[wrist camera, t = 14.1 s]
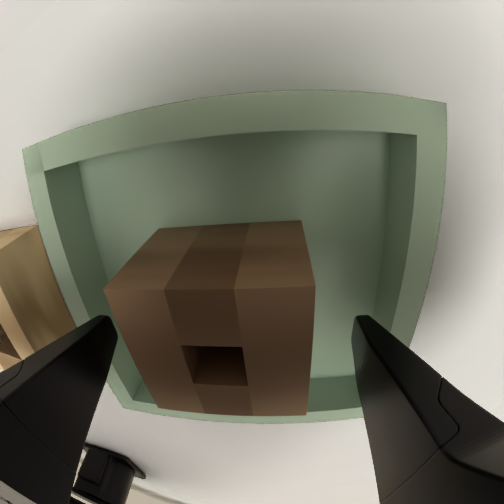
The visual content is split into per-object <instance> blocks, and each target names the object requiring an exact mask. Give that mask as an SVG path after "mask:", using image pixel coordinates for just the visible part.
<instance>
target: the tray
mask: <svg viewBox="0 0 504 504" xmlns="http://www.w3.org/2000/svg"><path fill="white" fill-rule="evenodd" d="M446 151H447V109H446V103H442V102H437V101H431V100H425V99H419V98H413V97H406V96H399V95H390V94H381V93H370V92H356V91H336V90H285V91H265V92H251V93H239V94H230V95H221V96H213V97H206V98H199V99H193V100H187V101H181V102H175V103H170V104H165V105H160V106H155V107H151V108H146V109H142V110H138V111H134V112H130V113H126V114H122V115H118V116H114V117H111V118H107V119H104V120H101V121H97V122H94V123H91V124H88V125H85V126H82V127H79V128H76V129H73V130H70V131H67V132H64V133H62V134H59V135H56V136H54V137H51V138H48V139H46V140H43V141H41V142H39V143H36V144H34V145H31V146H29V147H27V148H25V149H22V152H23V159H24V165H25V170H26V176H27V181H28V186H29V190H30V195H31V199H32V203H33V207H34V211H35V215H36V219H37V223H38V226H39V230H40V233H41V236H42V240H43V243H44V246H45V249H46V252H47V255H48V258H49V261H50V264H51V266H52V269H53V272H54V275H55V277H56V280H57V282H58V285H59V287H60V290H61V292H62V295H63V297H64V300H65V302H66V304H67V306H68V309H69V311H70V313H71V315H72V318H73V320H74V322H75V324H76V326H77V327H79V326H80V325H82V324H84V323H86V322H87V321H89V320H91V319H93V318H94V317H96V316H98V315H108V316H110V318H111V319H112V322H113V324H114V326H115V329H116V331H117V334H118V341H117V345H116V348H115V352H114V355H113V359H112V362H111V366H110V370H109V373H108V376H107V379H106V381H107V383H108V385H109V386H110V388H111V389H112V391H113V393H114V394H115V396H116V397H117V399H118V400H119V402H120V403H121V405H122V406H123V408H126V409H131V410H136V411H141V412H146V413H152V414H158V415H164V416H171V417H178V418H186V419H195V420H204V421H216V422H231V423H258V424H283V423H310V422H324V421H336V420H346V419H354V418H362V417H364V415H363V411H362V406H361V402H360V398H359V394H358V389H357V384H356V376H355V368H354V360H353V352H352V345H351V335H352V329H353V323H354V318H355V317H356V316H357V315H369V316H371V317H372V318H373V319H374V320H375V321H377V322H378V323H379V324H380V325H382V326H383V327H384V328H385V329H386V330H388V331H389V332H390V333H391V334H392V335H394V336H395V337H396V338H397V339H399V340H400V341H401V342H402V343H403V344H405V345H406V346H407V347H408V348H409V346H410V343H411V340H412V337H413V334H414V331H415V328H416V325H417V322H418V318H419V315H420V311H421V308H422V304H423V301H424V297H425V293H426V289H427V285H428V281H429V277H430V273H431V268H432V264H433V259H434V254H435V249H436V243H437V238H438V232H439V225H440V219H441V211H442V203H443V194H444V184H445V171H446ZM296 220H301V221H302V225H303V230H304V234H305V239H306V243H307V248H308V252H309V257H310V261H311V266H312V271H313V276H314V280H315V285H316V290H315V313H314V332H313V347H312V361H311V373H310V384H309V395H308V405H307V414H306V415H302V416H232V415H216V414H203V413H193V412H183V411H175V410H168V409H161V408H158V407H157V405H156V403H155V401H154V399H153V398H152V396H151V394H150V392H149V390H148V388H147V387H146V385H145V383H144V381H143V379H142V377H141V375H140V373H139V371H138V369H137V367H136V365H135V363H134V361H133V359H132V357H131V355H130V352H129V350H128V348H127V346H126V344H125V341H124V339H123V337H122V335H121V332H120V330H119V328H118V325H117V323H116V321H115V318H114V316H113V313H112V311H111V308H110V306H109V303H108V300H107V298H106V295H105V292H104V290H103V289H104V287H105V286H106V285H107V284H108V283H109V282H110V280H111V279H112V278H113V277H114V276H115V275H116V274H117V273H118V271H119V270H120V269H121V268H122V267H123V266H124V265H125V264H126V263H127V261H128V260H129V259H130V258H131V257H132V256H133V255H134V254H135V253H136V252H137V251H138V249H139V248H140V247H141V246H142V245H143V244H144V243H145V242H146V241H147V240H148V239H149V238H150V237H151V236H152V235H153V234H154V233H155V232H156V231H157V229H159V228H173V227H187V226H202V225H217V224H234V223H253V222H273V221H296Z"/></svg>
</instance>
